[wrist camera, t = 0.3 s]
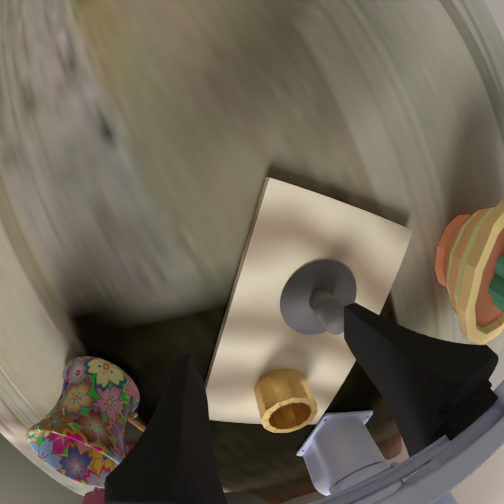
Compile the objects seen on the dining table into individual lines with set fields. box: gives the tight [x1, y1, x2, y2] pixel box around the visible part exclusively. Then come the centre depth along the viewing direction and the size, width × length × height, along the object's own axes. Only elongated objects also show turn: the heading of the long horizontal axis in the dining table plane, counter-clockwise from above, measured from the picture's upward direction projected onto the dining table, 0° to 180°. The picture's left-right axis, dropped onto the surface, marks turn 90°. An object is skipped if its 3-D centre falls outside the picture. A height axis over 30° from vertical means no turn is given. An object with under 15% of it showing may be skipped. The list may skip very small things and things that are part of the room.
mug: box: [27, 356, 146, 488], centre depth 19 cm, size 12×9×11 cm
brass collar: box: [254, 368, 318, 433], centre depth 23 cm, size 5×5×4 cm
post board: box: [205, 177, 413, 424], centre depth 23 cm, size 24×14×5 cm, turn 163°
